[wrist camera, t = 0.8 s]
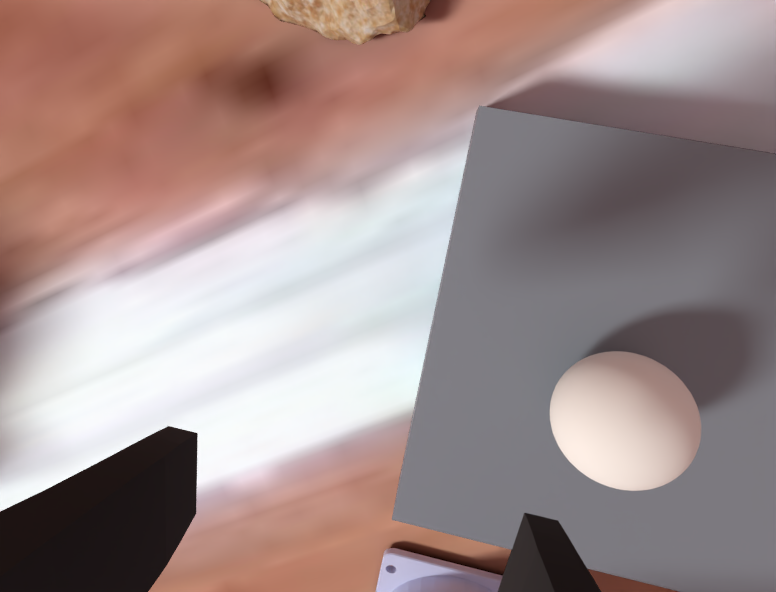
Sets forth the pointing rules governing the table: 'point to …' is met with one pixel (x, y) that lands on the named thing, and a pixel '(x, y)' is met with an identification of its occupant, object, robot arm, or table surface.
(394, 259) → the table surface
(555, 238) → the plate
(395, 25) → the stone
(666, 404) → the ball
